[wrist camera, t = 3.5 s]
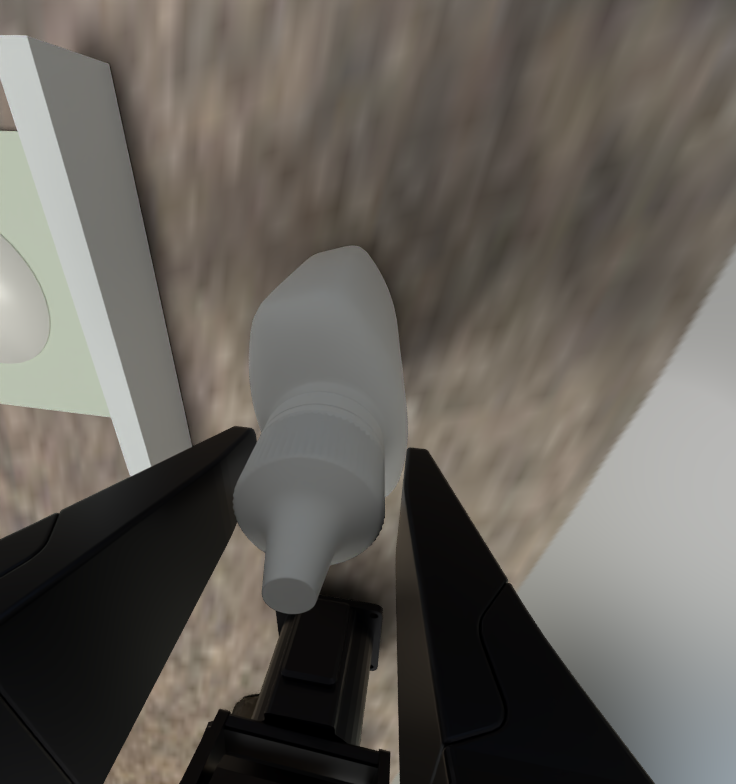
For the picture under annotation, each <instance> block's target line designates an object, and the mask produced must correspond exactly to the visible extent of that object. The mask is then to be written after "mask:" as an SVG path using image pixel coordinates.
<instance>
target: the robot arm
mask: <svg viewBox="0 0 736 784" xmlns="http://www.w3.org/2000/svg"><path fill="white" fill-rule="evenodd" d="M256 443H257V440H256V434H255V431H254V430H253V429H252V428H247V427H239V426H234V427H232V428H230V429H228V430H225V431H223V432H221V433H219V434H217V435H215V436H213V437H211V438H209V439H207V440H205V441H203V442H201V443H199V444H197V445H195V446H193V447H190V448H188V449H186V450H184V451H182V452H180V453H178V454H176V455H174V456H172V457H170V458H168V459H166V460H164V461H162V462H160V463H157V464H155V465H153V466H151V467H149V468H147V469H145V470H143V471H141V472H139V473H137V474H135V475H133V476H131V477H129V478H127V479H124V480H122V481H120V482H118V483H116V484H114V485H112V486H110V487H108V488H106V489H104V490H102V491H100V492H98V493H96V494H94V495H92V496H89V497H87V498H85V499H83V500H81V501H79V502H77V503H75V504H73V505H71V506H69V507H67V508H65V509H63V510H61V511H60V513H54V514H52V515H50V516H48V517H46V518H44V519H42V520H40V521H38V522H36V523H34V524H32V525H30V526H27V527H25V528H23V529H21V530H19V531H17V532H15V533H13V534H10V535H8V536H6V537H4V538H2V539H0V784H103V783H104V781H105V779H106V777H107V775H108V773H109V772H110V770H111V768H112V766H113V764H114V762H115V760H116V758H117V756H118V754H119V752H120V750H121V748H122V746H123V744H124V743H125V741H126V739H127V737H128V735H129V733H130V731H131V729H132V727H133V725H134V723H135V721H136V719H137V717H138V716H139V714H140V712H141V710H142V708H143V706H144V704H145V702H146V700H147V698H148V696H149V694H150V692H151V690H152V689H153V687H154V685H155V683H156V681H157V679H158V677H159V675H160V673H161V671H162V669H163V667H164V665H165V663H166V662H167V660H168V658H169V656H170V654H171V652H172V650H173V648H174V646H175V644H176V642H177V640H178V638H179V636H180V634H181V633H182V631H183V629H184V627H185V625H186V623H187V621H188V619H189V617H190V615H191V613H192V611H193V609H194V607H195V606H196V604H197V602H198V600H199V598H200V596H201V594H202V592H203V590H204V588H205V586H206V584H207V582H208V580H209V579H210V577H211V575H212V573H213V571H214V569H215V567H216V565H217V563H218V561H219V559H220V557H221V555H222V553H223V552H224V550H225V548H226V546H227V544H228V542H229V540H230V538H231V536H232V534H233V531H234V529H235V526H236V524H237V520H236V516H235V515H234V512H235V511H234V509H233V505H234V504H233V502H232V501H233V499H234V497H233V494H234V492H235V491H234V489H235V486H236V483H237V481H238V479H239V477H240V475H241V473H242V471H243V469H244V467H245V465H246V463H247V461H248V459H249V457H250V455H251V453H252V451H253V449H254V447H255V445H256ZM276 616H277V624H278V632H279V639H278V642H277V644H276V647H275V650H274V653H273V656H272V659H271V662H270V665H269V668H268V671H267V674H266V677H265V680H264V683H263V686H262V689H261V692H260V695H259V698H258V701H257V704H256V707H255V710H254V712H253V715H252V718H251V719H249V718H245V717H241V716H237V715H233V714H230V711H227V710H223V709H219V711H218V713H217V715H216V717H215V719H214V721H211V722H208V725H207V727H206V730H205V732H204V735H203V737H202V739H201V742H200V744H199V746H198V748H197V750H196V752H195V754H194V756H193V758H192V760H191V762H190V764H189V766H188V768H187V770H186V772H185V774H184V776H183V778H182V780H181V781H180V783H179V784H389V778H390V751H386V750H382V749H379V751H376V750H372V749H368V748H364V747H360V739H361V732H362V724H363V717H364V709H365V702H366V694H367V686H368V679H369V671H374V670H376V669H377V667H378V658H379V648H380V637H381V627H382V617H383V608H382V607H381V606H379V605H377V604H372V603H366V602H360V601H354V600H348V599H342V598H336V597H330V596H324V595H319V596H318V599H317V601H316V604H315V605H314V607H313V608H311V609H310V610H308V611H306V612H304V613H299V614H287V613H282V612H279V611H276ZM396 618H397V667H398V716H399V765H400V784H655V783H654V782H653V780H652V779H651V778H650V776H649V775H648V774H647V773H646V771H645V770H644V769H643V767H642V766H641V765H640V763H639V762H638V761H637V760H636V758H635V757H634V755H633V754H632V753H631V752H630V750H629V749H628V747H627V746H626V745H625V744H624V742H623V741H622V740H621V738H620V737H619V736H618V734H617V733H616V732H615V730H614V729H613V728H612V726H611V725H610V724H609V722H608V721H607V720H606V719H605V717H604V716H603V715H602V713H601V712H600V711H599V709H598V708H597V707H596V705H595V704H594V703H593V701H592V700H591V699H590V697H589V696H588V695H587V694H586V692H585V691H584V690H583V688H582V687H581V686H580V684H579V683H578V682H577V680H576V679H575V678H574V676H573V675H572V674H571V672H570V671H569V670H568V668H567V667H566V665H565V664H564V663H563V661H562V660H561V659H560V657H559V656H558V655H557V653H556V652H555V650H554V649H553V648H552V646H551V645H550V643H549V642H548V641H547V639H546V638H545V637H544V635H543V634H542V632H541V630H540V629H539V627H537V624H536V623H535V621H534V620H533V618H532V617H531V615H530V614H529V612H528V611H527V609H526V608H525V606H524V605H523V603H522V601H521V600H520V598H519V596H518V595H517V593H516V591H515V590H514V588H513V587H512V585H511V584H510V583H508V579H507V577H506V576H505V574H504V572H503V571H502V569H501V568H500V566H499V564H498V563H497V561H496V559H495V558H494V556H493V555H492V553H491V551H490V550H489V548H488V547H487V545H486V543H485V542H484V540H483V538H482V537H481V535H480V534H479V532H478V530H477V529H476V527H475V526H474V524H473V522H472V521H471V519H470V517H469V516H468V514H467V513H466V511H465V509H464V508H463V506H462V505H461V503H460V501H459V500H458V498H457V497H456V495H455V493H454V492H453V490H452V488H451V487H450V485H449V484H448V482H447V480H446V479H445V477H444V476H443V474H442V472H441V471H440V469H439V467H438V466H437V464H436V463H435V461H434V459H433V458H432V456H431V455H430V453H429V451H428V450H426V449H419V448H408V449H407V452H406V461H405V470H404V479H403V489H402V498H401V508H400V517H399V526H398V536H397V545H396Z"/></svg>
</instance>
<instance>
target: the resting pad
mask: <svg viewBox="0 0 736 784" xmlns="http://www.w3.org/2000/svg"><path fill="white" fill-rule="evenodd" d="M0 404H7V405H15V406H24V407H32V408H40V409H48V410H56V411H64V412H72V413H80V414H88V415H96V416H104V417H111V416H110V413H109V410H108V407H107V403H106V400H105V397H104V394H103V391H102V388H101V385H100V382H99V379H98V376H97V373H96V370H95V367H94V364H93V361H92V358H91V355H90V351H89V348H88V345H87V342H86V339H85V336H84V333H83V330H82V327H81V324H80V321H79V318H78V315H77V312H76V309H75V306H74V302H73V299H72V296H71V293H70V290H69V287H68V284H67V281H66V278H65V275H64V272H63V269H62V266H61V263H60V260H59V257H58V253H57V250H56V247H55V244H54V241H53V238H52V235H51V232H50V229H49V226H48V223H47V220H46V217H45V214H44V211H43V208H42V204H41V201H40V198H39V195H38V192H37V189H36V186H35V183H34V180H33V177H32V174H31V171H30V168H29V165H28V162H27V159H26V155H25V152H24V149H23V146H22V143H21V140H20V137H19V134H18V131H0Z"/></svg>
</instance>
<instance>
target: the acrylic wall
mask: <svg viewBox="0 0 736 784" xmlns="http://www.w3.org/2000/svg"><path fill="white" fill-rule="evenodd" d="M0 79H1V82H2V85H3V88H4V91H5V94H6V97H7V100H8V103H9V106H10V110H11V113H12V116H13V119H14V122H15V125H16V128H17V131H18V134H19V137H20V140H21V143H22V146H23V149H24V152H25V155H26V159H27V162H28V165H29V168H30V171H31V174H32V177H33V180H34V183H35V186H36V189H37V192H38V195H39V198H40V201H41V204H42V208H43V211H44V214H45V217H46V220H47V223H48V226H49V229H50V232H51V235H52V238H53V241H54V244H55V247H56V250H57V253H58V257H59V260H60V263H61V266H62V269H63V272H64V275H65V278H66V281H67V284H68V287H69V290H70V293H71V296H72V299H73V302H74V306H75V309H76V312H77V315H78V318H79V321H80V324H81V327H82V330H83V333H84V336H85V339H86V342H87V345H88V348H89V351H90V355H91V358H92V361H93V364H94V367H95V370H96V373H97V376H98V379H99V382H100V385H101V388H102V391H103V394H104V397H105V400H106V403H107V407H108V410H109V413H110V416H111V419H112V422H113V425H114V428H115V431H116V434H117V437H118V440H119V443H120V446H121V449H122V452H123V456H124V459H125V462H126V465H127V468H128V471H129V474H130V477H131V476H133V475H135V474H137V473H139V472H141V471H143V470H145V469H147V468H149V467H151V466H153V465H155V464H157V463H160V462H162V461H164V460H166V459H168V458H170V457H172V456H174V455H176V454H178V453H180V452H182V451H184V450H186V449H188V448H190V447H192V443H191V439H190V434H189V429H188V425H187V420H186V416H185V411H184V406H183V402H182V397H181V393H180V388H179V383H178V379H177V374H176V370H175V365H174V360H173V356H172V351H171V347H170V342H169V337H168V333H167V328H166V324H165V319H164V314H163V310H162V305H161V301H160V296H159V291H158V287H157V282H156V278H155V273H154V268H153V264H152V259H151V255H150V250H149V245H148V241H147V236H146V232H145V227H144V222H143V218H142V213H141V209H140V204H139V199H138V195H137V190H136V186H135V181H134V176H133V172H132V167H131V163H130V158H129V153H128V149H127V144H126V140H125V135H124V130H123V126H122V121H121V117H120V112H119V107H118V103H117V98H116V94H115V89H114V84H113V80H112V75H111V71H110V66H109V64H108V63H105V62H102V61H100V60H97V59H94V58H91V57H88V56H85V55H82V54H79V53H76V52H73V51H70V50H68V49H65V48H62V47H59V46H56V45H53V44H50V43H47V42H44V41H41V40H39V39H36V38H33V37H30V36H27V35H0Z"/></svg>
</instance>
